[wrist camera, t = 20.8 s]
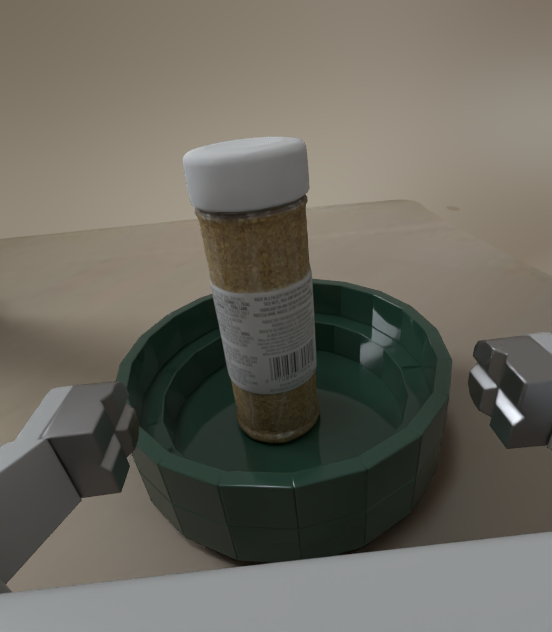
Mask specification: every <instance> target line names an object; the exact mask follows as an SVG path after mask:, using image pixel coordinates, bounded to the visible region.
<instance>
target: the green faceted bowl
mask: <svg viewBox="0 0 552 632" xmlns="http://www.w3.org/2000/svg"><path fill="white" fill-rule="evenodd" d="M312 284H313V303H314V322H315V342H316V362H317V363H316V369H315V371H316V392H317V397H318V400H319V404H320V413H319V416H318V419H317V421H316V423H315V425H314V426H313V427H312V428H311V429H310V430H309V431H308V432H307V433H305V434H304V435H302V436H300V437H298V438H297V439H294V440H292V441H289V442H285V443H268V442H261V441H258V440H255V439H252V438H251V437H250V436H248V435H247V434H246V433H244V432H243V430H242V429H241V428H240V426H239V424H238V421H237V419H236V408H237V406H236V402H235V397H234V393H233V386H232V381H231V378H230V376H229V373H228V369H227V364H226V359H225V353H224V348H223V343H222V338H221V333H220V328H219V323H218V319H217V314H216V309H215V304H214V299H213V294H210V295H207V296H204V297H201V298H199V299H197V300H195V301H193V302H191V303H189V304H187V305H185V306H183V307H181V308H179V309H177V310H175V311H174V312H172V313H170V314H169V315H167V316H165V317H164V318H163V319H162V320H160V321H159V322H158V323H156V324H155V325H154V326H153V327H151V328H150V329H149V330H148V331H146V332H145V333H144V334H143V335H141V337H139V339H138V340H137V342H136V343H135V344H134V346H133V347H132V348H131V350H130V351H129V353H128V354H127V355H126V357H125V358H124V359H123V361H122V362H121V364H120V366H119V370H118V375H117V379H116V381H120V382H122V383H124V384H125V386H126V388H127V391H128V393H129V396H128V399H127V401H126V403H127V404H128V405H130V406H131V407H133V408H134V409H135V411H136V414H137V417H138V422H139V437H138V442H137V445H136V449H135V450H134V451H133V452H132V456H133V458H134V461H135V463H136V465H137V468H138V470H139V473H140V475H141V477H142V480H143V482H144V484H145V487H146V489H147V492H148V494H149V496H150V499H151V501H152V502H153V504H154V505H155V506H156V507H157V508H158V509H159V510H160V511H161V512H162V513H163V514H164V515H165V517H166V518H167V519H168V520H169V521H170V522H171V523H172V524H173V525H174V526H175V527H176V528H177V529H178V530H179V531H180V532H181V533H182V535H184V536H185V537H186V538H188V539H190V540H192V541H194V542H197V543H199V544H201V545H204V546H206V547H208V548H210V549H213V550H215V551H217V552H220V553H222V554H224V555H226V556H229V557H231V558H233V559H236V560H239V561H256V562H273V563H277V562H286V561H295V560H304V559H313V558H322V557H330V556H333V555H337V554H340V553H344V552H347V551H351V550H355V549H358V548H362V547H364V545H367V544H368V543H370V542H371V541H372V540H374V539H375V538H377V537H378V536H379V535H381V534H382V533H383V532H385V531H386V530H388V529H389V528H390V527H392V526H393V525H394V524H396V523H397V522H399V521H400V520H401V519H403V518H404V517H405V516H407V515H408V514H410V512H412V511H413V509H414V507H415V506H416V504H417V502H418V501H419V499H420V497H421V496H422V494H423V492H424V491H425V489H426V487H427V486H428V484H429V482H430V481H431V479H432V477H433V476H434V474H435V473H436V469H437V463H438V457H439V452H440V446H441V440H442V435H443V429H444V424H445V418H446V412H447V407H448V401H449V394H450V382H451V370H452V359H451V357H450V355H449V353H448V351H447V348H446V346H445V344H444V342H443V340H442V338H441V336H440V334H439V332H438V330H437V329H436V328H435V327H434V326H433V325H432V324H431V323H430V322H429V321H427V320H426V319H425V318H424V317H423V316H422V315H421V314H420V313H418V312H417V311H416V310H415V309H414V308H413V307H411V306H410V305H408V304H406V303H404V302H402V301H400V300H398V299H395V298H393V297H391V296H389V295H387V294H385V293H383V292H381V291H378V290H374V289H370V288H366V287H362V286H359V285H355V284H351V283H347V282H340V281H330V280H320V279H312Z"/></svg>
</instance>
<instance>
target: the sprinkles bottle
mask: <svg viewBox="0 0 552 632" xmlns="http://www.w3.org/2000/svg"><path fill="white" fill-rule="evenodd" d="M183 167H184V173H185V179H186V184H187V189H188V193H189V199H190V203H191V205H192V206H194V207H195V214H196V216H197V217H198V219H199V223H200V227H201V233H202V238H203V242H204V248H205V253H206V257H207V262H208V267H209V271H210V275H209V279H210V284H211V289H212V294H213V299H214V304H215V309H216V314H217V319H218V323H219V328H220V333H221V338H222V343H223V348H224V353H225V359H226V364H227V369H228V373H229V376H230V378H231V381H232V386H233V393H234V397H235V402H236V406H237V408H236V419H237V421H238V424H239V426H240V428H241V429H242V430H243V432H244V433H246V434H247V435H248V436H250V437H251V438H252V439H255V440H258V441H261V442H268V443H285V442H289V441H292V440H294V439H297V438H298V437H300V436H302V435H304V434H305V433H307V432H308V431H309V430H310V429H311V428H312V427H313V426H314V425H315V423H316V421H317V419H318V416H319V413H320V404H319V400H318V397H317V392H316V371H315V369H316V363H317V362H316V342H315V322H314V303H313V284H312V271H311V268H310V263H309V253H308V234H307V219H306V203H307V196H306V195H305V194H306V193H307V192H308V190H309V173H308V160H307V150H306V145H305V143H304V142H303V141H302V140H301V139H298V138H294V137H257V138H247V139H239V140H231V141H226V142H220V143H215V144H211V145H207V146H203V147H199V148H196V149H193V150H191V151H189V152H187V153H186V154H185V155H184V157H183Z"/></svg>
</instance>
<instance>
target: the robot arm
mask: <svg viewBox="0 0 552 632" xmlns="http://www.w3.org/2000/svg"><path fill="white" fill-rule="evenodd" d="M473 357H474V358H475V359H476V361H477V362H478V363H477V364H476V365H475V366H474V367H473V368H472V369H471V370H470V373H469V379H468V386H469V392H470V396H471V398H472V400H473V402H474V404H475V405H476V407H477V408H478V410H479V411H481V412H483V413H484V414H486V415H488V416H490V417H491V422H490V426H491V428H492V429H493V430H494V432H495V433H496V435H497V436H498V437H499V439H500V440H501V441H502V443H503V444H504V445H505V447H506V448H507V449H511V448H522V447H534V446H546V445H548V446H547V448H549V449H550V450H552V333H549V332H540V333H532V334H525V335H522V336H515V337H507V338H498V339H490V340H481V341H478V342H477V344H476V345H475V348H474V352H473ZM128 396H129V393H128V391H127V388H126V386H125V384H124V383H122V382H120V381H114V382H103V383H92V384H82V385H76V386H75V385H72V386H63V387H55V388H53V389H51V390H49V392H48V393H47V394H46V396H45V397H44V399H43V400H42V402H41V403H40V405H39V406H38V407H37V409H36V410H35V412H34V413H33V415H32V416H31V418H30V419H29V420H28V422H27V423H26V425H25V426H24V428H23V429H22V431H21V432H20V433H19V435H18V436H17V438H16V439H15V441H14V442H11V443H5V444H4V445H2V446H1V447H0V632H552V531H551V532H542V533H533V534H525V535H516V536H507V537H498V538H489V539H480V540H472V541H463V542H454V543H445V544H436V545H427V546H419V547H410V548H401V549H392V550H383V551H375V552H366V553H357V554H348V555H339V556H331V557H322V558H313V559H304V560H295V561H286V562H277V563H269V564H260V565H251V566H242V567H233V568H224V569H215V570H206V571H197V572H188V573H179V574H170V575H161V576H152V577H143V578H134V579H126V580H117V581H108V582H99V583H90V584H81V585H72V586H64V587H55V588H46V589H37V590H28V591H19V592H12V591H11V590H10V589H9V588H8V587H7V586H6V584H7V582H8V581H9V580H10V579H11V578H12V577H13V576H14V575H15V574H16V572H17V571H18V570H19V569H20V568H21V567H22V566H23V565H24V564H25V562H26V561H27V560H28V559H29V558H30V557H31V556H32V555H33V554H34V553H35V551H36V550H37V549H38V548H39V547H40V546H41V545H42V544H43V543H44V541H45V540H46V539H47V538H48V537H49V536H50V535H51V534H52V533H53V531H54V530H55V529H56V528H57V527H58V526H59V525H60V524H61V523H62V521H63V520H64V519H65V518H66V517H67V516H68V515H69V514H70V513H71V512H72V510H73V509H74V508H75V507H76V506H77V505H78V504H79V503H80V502H81V500H82V499H81V498H85V497H92V496H99V495H106V494H113V493H120V492H121V491H122V488H123V485H124V482H125V479H126V476H127V473H128V470H129V467H130V465H129V463H128V461H127V457H128V456H129V455H130V454H131V453H132V452H133V451H134V450H135V449H136V445H137V442H138V437H139V422H138V417H137V414H136V411H135V409H134V408H133V407H131V406H130V405H128V404H127V403H126V401H127V399H128Z"/></svg>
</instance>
